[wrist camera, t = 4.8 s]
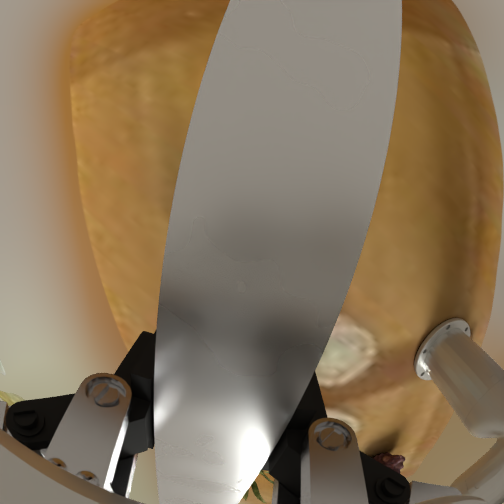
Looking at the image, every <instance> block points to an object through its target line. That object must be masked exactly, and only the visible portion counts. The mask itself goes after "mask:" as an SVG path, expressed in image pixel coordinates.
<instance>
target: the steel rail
mask: <svg viewBox="0 0 504 504" xmlns="http://www.w3.org/2000/svg"><path fill="white" fill-rule="evenodd" d="M401 33H402V0H230V3H229V5H228V8H227V10H226V13H225V15H224V18H223V20H222V23H221V26H220V28H219V31H218V34H217V36H216V39H215V42H214V45H213V48H212V51H211V54H210V57H209V60H208V63H207V66H206V69H205V72H204V75H203V79H202V82H201V85H200V89H199V92H198V95H197V99H196V103H195V106H194V110H193V114H192V117H191V121H190V125H189V129H188V133H187V137H186V141H185V146H184V150H183V154H182V159H181V163H180V168H179V173H178V177H177V182H176V187H175V193H174V198H173V203H172V209H171V215H170V221H169V227H168V233H167V240H166V247H165V254H164V261H163V269H162V277H161V286H160V296H159V306H158V318H157V331H156V347H155V369H154V438H155V457H156V472H157V484H158V494H159V502H160V504H238V503H239V501H240V500H241V498H242V497H243V496H244V494H245V493H246V491H247V490H248V488H249V487H250V485H251V484H252V482H253V481H254V479H255V478H256V476H257V475H258V473H259V472H260V470H261V469H262V467H263V466H264V464H265V462H266V461H267V459H268V457H269V456H270V454H271V453H272V451H273V449H274V447H275V446H276V444H277V442H278V441H279V439H280V437H281V435H282V434H283V432H284V430H285V428H286V427H287V425H288V423H289V421H290V419H291V417H292V416H293V414H294V412H295V410H296V408H297V406H298V404H299V402H300V400H301V398H302V396H303V394H304V392H305V390H306V388H307V386H308V384H309V382H310V380H311V378H312V376H313V374H314V371H315V369H316V367H317V365H318V363H319V361H320V358H321V356H322V354H323V352H324V349H325V347H326V345H327V342H328V340H329V338H330V335H331V333H332V330H333V328H334V326H335V323H336V321H337V318H338V316H339V313H340V310H341V308H342V305H343V303H344V300H345V297H346V295H347V292H348V289H349V286H350V283H351V281H352V278H353V275H354V272H355V269H356V266H357V263H358V260H359V257H360V254H361V251H362V247H363V244H364V241H365V238H366V234H367V231H368V227H369V224H370V220H371V217H372V213H373V209H374V206H375V202H376V198H377V194H378V190H379V186H380V182H381V177H382V173H383V168H384V164H385V159H386V154H387V149H388V144H389V139H390V133H391V128H392V122H393V115H394V109H395V101H396V94H397V86H398V76H399V66H400V53H401Z"/></svg>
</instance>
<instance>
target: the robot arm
mask: <svg viewBox="0 0 504 504" xmlns="http://www.w3.org/2000/svg"><path fill="white" fill-rule="evenodd" d="M156 331H157V329H156ZM156 331H155V333H154V334H152V333H149V332H146V331H143V332H142V333H141V334H140V336H139V337H138V339H137V340H136V342H135V343H134V345H133V346H132V348H131V349H130V351H129V352H128V354H127V355H126V357H125V358H124V360H123V361H122V363H121V364H120V366H119V367H118V369H117V371H116V372H115V374H108V373H97V374H93V375H90V376H89V377H87V378H85V379H84V381H83V382H82V383H81V385H80V387H79V388H78V390H77V392H76V393H75V394H69V395H63V396H57V397H50V398H43V399H35V400H26V401H20V402H16V403H15V404H13V405H12V406H8V404H7V402H4V401H0V504H143V503H140V502H137V501H134V500H131V499H129V494H130V490H131V484H132V479H133V475H134V470H135V466H136V461H137V457H138V453H141V452H144V451H146V450H147V449H148V448H151V449H153V447H154V444H155V438H154V369H155V347H156ZM414 368H415V372H416V374H417V375H418V376H419V377H420V378H421V379H424V380H433V381H434V383H435V384H436V385H437V387H438V388H439V390H440V391H441V392H442V394H443V395H444V397H445V398H446V399H447V401H448V402H449V404H450V405H451V406H452V408H453V409H454V411H455V412H456V414H457V415H458V417H459V418H460V419H461V421H462V422H463V424H464V425H465V427H466V428H467V430H468V431H469V432H470V433H471V434H472V435H473V436H475V437H479V438H497V442H496V443H495V444H494V445H493V446H492V448H490V450H489V451H488V452H487V453H486V454H485V455H483V456H482V457H481V458H480V459H479V460H478V461H477V462H476V463H475V464H473V465H472V466H471V467H470V468H469V469H467V470H466V471H465V472H464V473H462V474H461V475H460V476H459V477H458V478H457V479H456V480H455V481H454V482H453V483H452V484H451V486H450V487H448V486H440V485H434V484H427V483H422V482H416V481H412V482H410V483H409V482H408V481H407V480H406V478H405V477H404V476H402V475H401V474H400V473H398V472H396V471H394V470H392V469H390V468H389V467H387V466H385V465H383V464H381V463H380V462H378V461H376V460H375V459H373V458H371V457H369V456H368V455H366V454H364V453H363V452H361V451H360V450H359V447H358V443H357V438H356V435H355V432H354V431H353V430H352V428H351V427H350V426H349V425H347V424H346V423H345V422H343V421H340V420H338V419H334V418H327V414H326V410H325V406H324V403H323V399H322V395H321V391H320V387H319V384H318V380H317V376H316V373H315V371H314V374H313V376H312V378H311V380H310V382H309V384H308V386H307V388H306V390H305V392H304V394H303V396H302V398H301V400H300V402H299V404H298V406H297V408H296V410H295V412H294V414H293V416H292V417H291V419H290V421H289V423H288V425H287V427H286V428H285V430H284V432H283V434H282V435H281V437H280V439H279V441H278V442H277V444H276V446H275V447H274V449H273V451H272V453H271V454H270V456H269V457H268V459H267V461H266V462H265V464H264V466H263V467H262V469H261V470H267V471H269V474H270V475H271V476H272V477H274V478H275V479H274V486H273V497H272V504H502V503H503V502H504V370H503V369H502V368H501V367H500V366H499V365H498V364H497V363H496V362H495V361H494V360H493V359H492V358H491V357H490V356H489V355H488V354H487V353H486V352H485V351H483V349H481V348H480V347H479V346H478V345H477V344H476V343H475V342H474V341H473V340H472V339H471V338H470V327H469V325H468V323H466V322H465V321H464V320H463V319H461V318H452V319H449V320H447V321H445V322H443V323H441V324H440V325H439V326H437V327H436V328H435V329H434V330H433V331H432V332H431V333H430V334H429V335H428V336H427V337H426V339H425V340H424V341H423V343H422V344H421V346H420V348H419V350H418V352H417V354H416V357H415V361H414Z"/></svg>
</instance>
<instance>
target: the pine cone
mask: <svg viewBox="0 0 504 504" xmlns="http://www.w3.org/2000/svg"><path fill="white" fill-rule="evenodd" d="M373 459H375V460H376V461H378V462H380V463H381V464H383V465H385V466H387V467H389V468H390V469H392V470H394V471H396V472H398V473H400V469H402V468H403V467H404V466H403V461H405V457H403V456H402V455H400V456H399V455H391V454H390V453H388V452H386V454H384V453H381V454H380V455H377V456H375V457H374V458H373Z"/></svg>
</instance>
